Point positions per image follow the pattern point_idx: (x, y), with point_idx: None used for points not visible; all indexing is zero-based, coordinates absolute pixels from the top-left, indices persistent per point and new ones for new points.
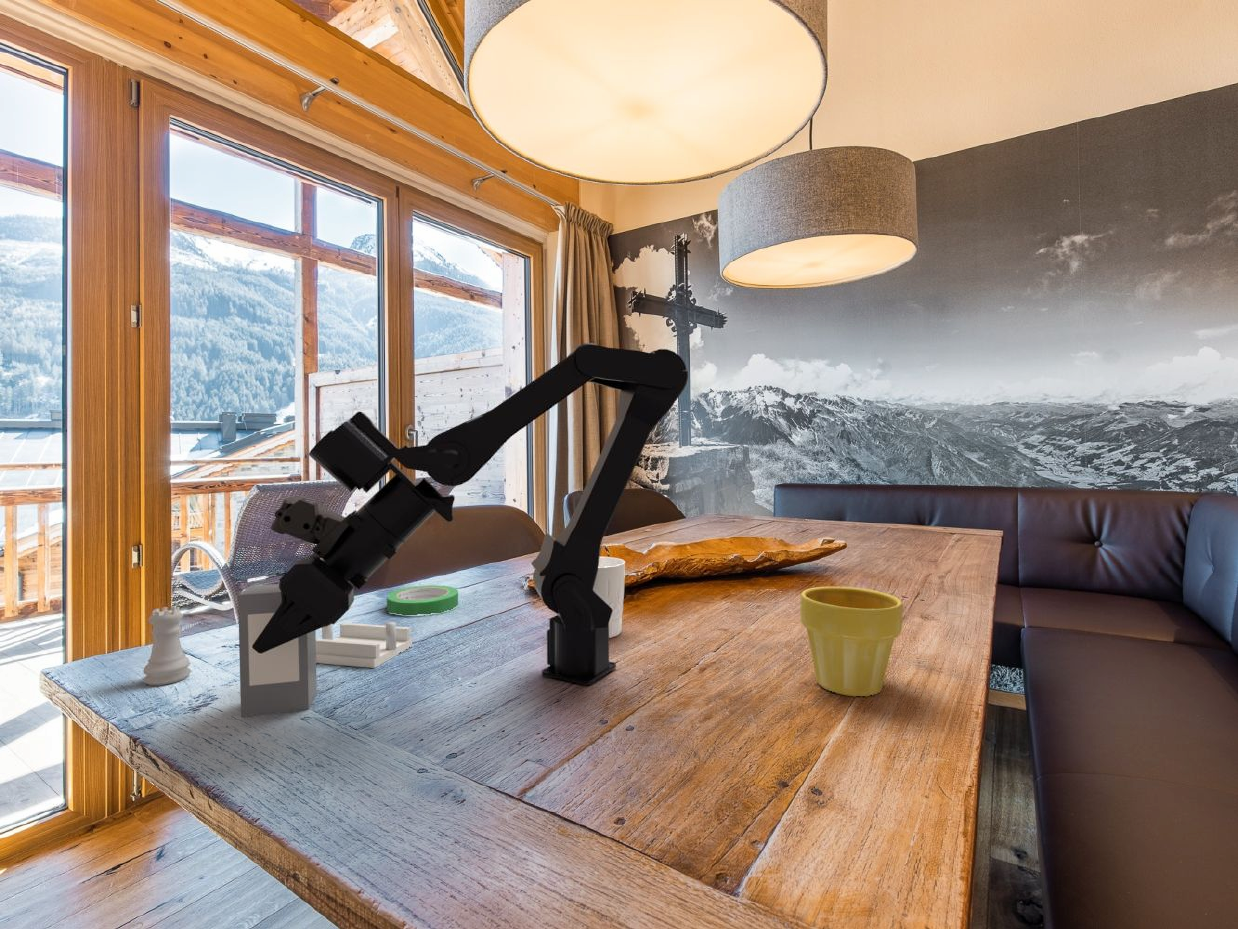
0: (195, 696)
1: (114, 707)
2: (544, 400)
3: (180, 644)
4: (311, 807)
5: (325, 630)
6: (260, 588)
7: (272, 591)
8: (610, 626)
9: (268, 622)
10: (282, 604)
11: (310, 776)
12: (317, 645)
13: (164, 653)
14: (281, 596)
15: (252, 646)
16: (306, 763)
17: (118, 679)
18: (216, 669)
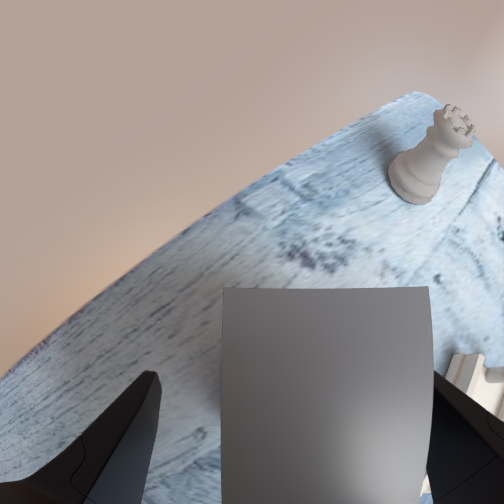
0: (346, 236)
1: (324, 154)
2: None
3: (439, 171)
4: (4, 425)
5: (502, 374)
6: (357, 363)
7: (252, 452)
8: None
9: (89, 426)
10: (29, 478)
11: (43, 433)
12: (465, 380)
13: (416, 159)
14: (4, 482)
15: (144, 371)
16: (66, 433)
17: (407, 137)
18: (439, 233)
